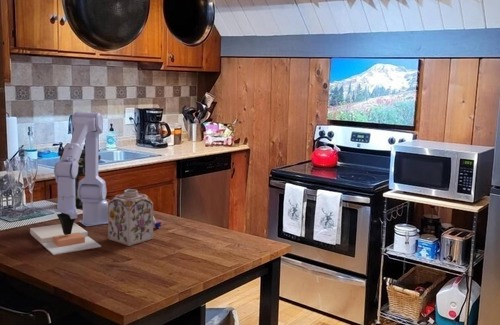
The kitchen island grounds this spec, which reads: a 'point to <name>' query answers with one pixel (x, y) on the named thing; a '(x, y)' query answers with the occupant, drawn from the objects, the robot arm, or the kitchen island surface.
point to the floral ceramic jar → (130, 218)
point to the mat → (71, 246)
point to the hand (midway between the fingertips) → (67, 234)
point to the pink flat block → (68, 239)
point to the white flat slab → (53, 232)
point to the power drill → (80, 172)
